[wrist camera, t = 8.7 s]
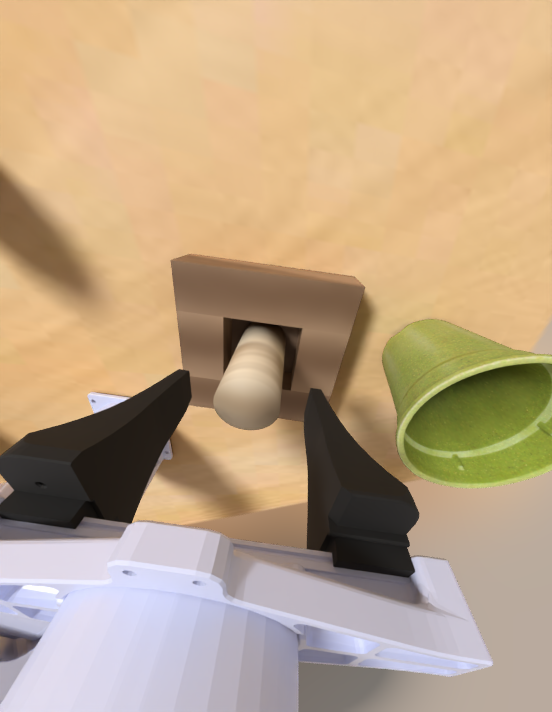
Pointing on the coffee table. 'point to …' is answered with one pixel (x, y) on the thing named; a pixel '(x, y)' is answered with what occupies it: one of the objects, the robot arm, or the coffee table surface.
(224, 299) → the socket block
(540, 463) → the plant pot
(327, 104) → the coffee table surface
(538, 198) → the coffee table surface
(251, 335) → the pin
